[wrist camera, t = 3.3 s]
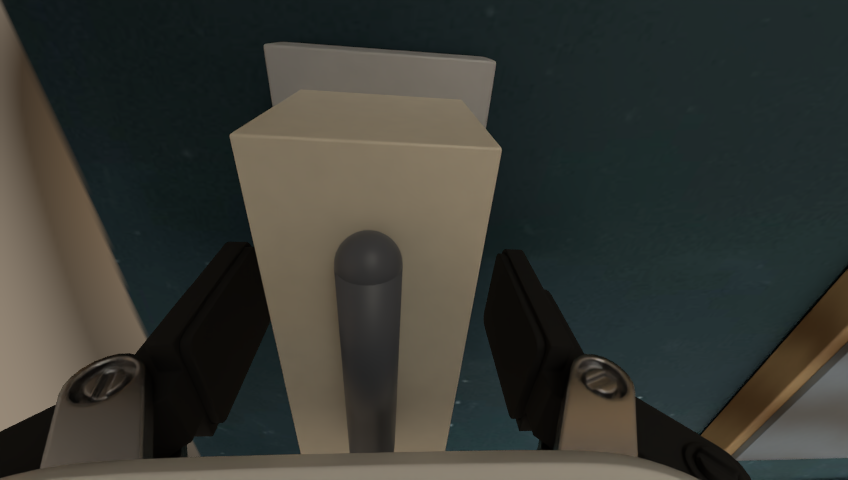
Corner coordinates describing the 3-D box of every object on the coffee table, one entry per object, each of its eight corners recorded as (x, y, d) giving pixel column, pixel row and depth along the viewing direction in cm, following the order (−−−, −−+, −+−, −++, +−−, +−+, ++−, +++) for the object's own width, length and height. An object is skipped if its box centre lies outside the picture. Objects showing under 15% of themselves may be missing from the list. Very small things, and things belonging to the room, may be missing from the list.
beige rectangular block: (280, 41, 10) (83, 66, 4) (485, 56, 10) (605, 101, 4) (320, 350, 17) (273, 538, 11) (443, 351, 17) (466, 530, 11)
